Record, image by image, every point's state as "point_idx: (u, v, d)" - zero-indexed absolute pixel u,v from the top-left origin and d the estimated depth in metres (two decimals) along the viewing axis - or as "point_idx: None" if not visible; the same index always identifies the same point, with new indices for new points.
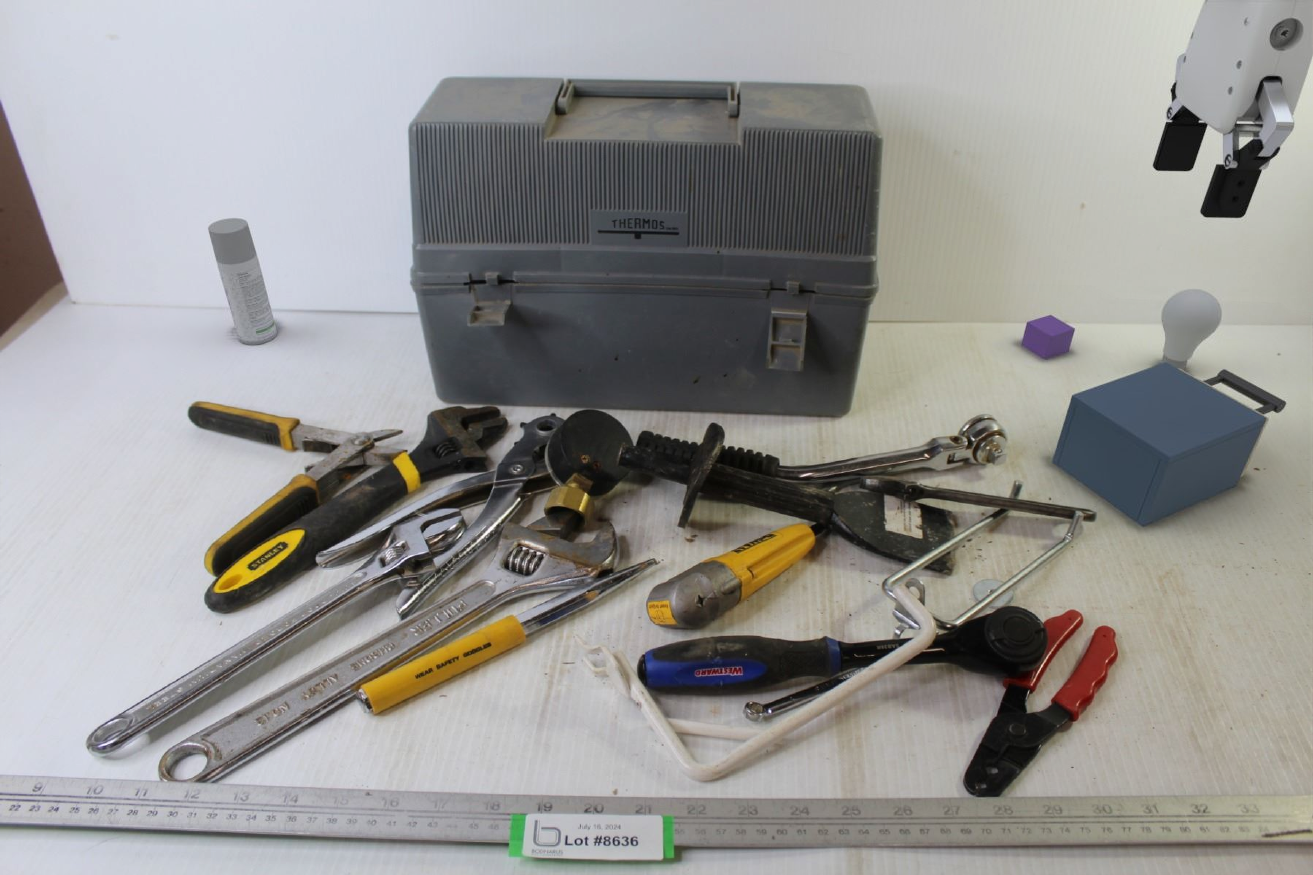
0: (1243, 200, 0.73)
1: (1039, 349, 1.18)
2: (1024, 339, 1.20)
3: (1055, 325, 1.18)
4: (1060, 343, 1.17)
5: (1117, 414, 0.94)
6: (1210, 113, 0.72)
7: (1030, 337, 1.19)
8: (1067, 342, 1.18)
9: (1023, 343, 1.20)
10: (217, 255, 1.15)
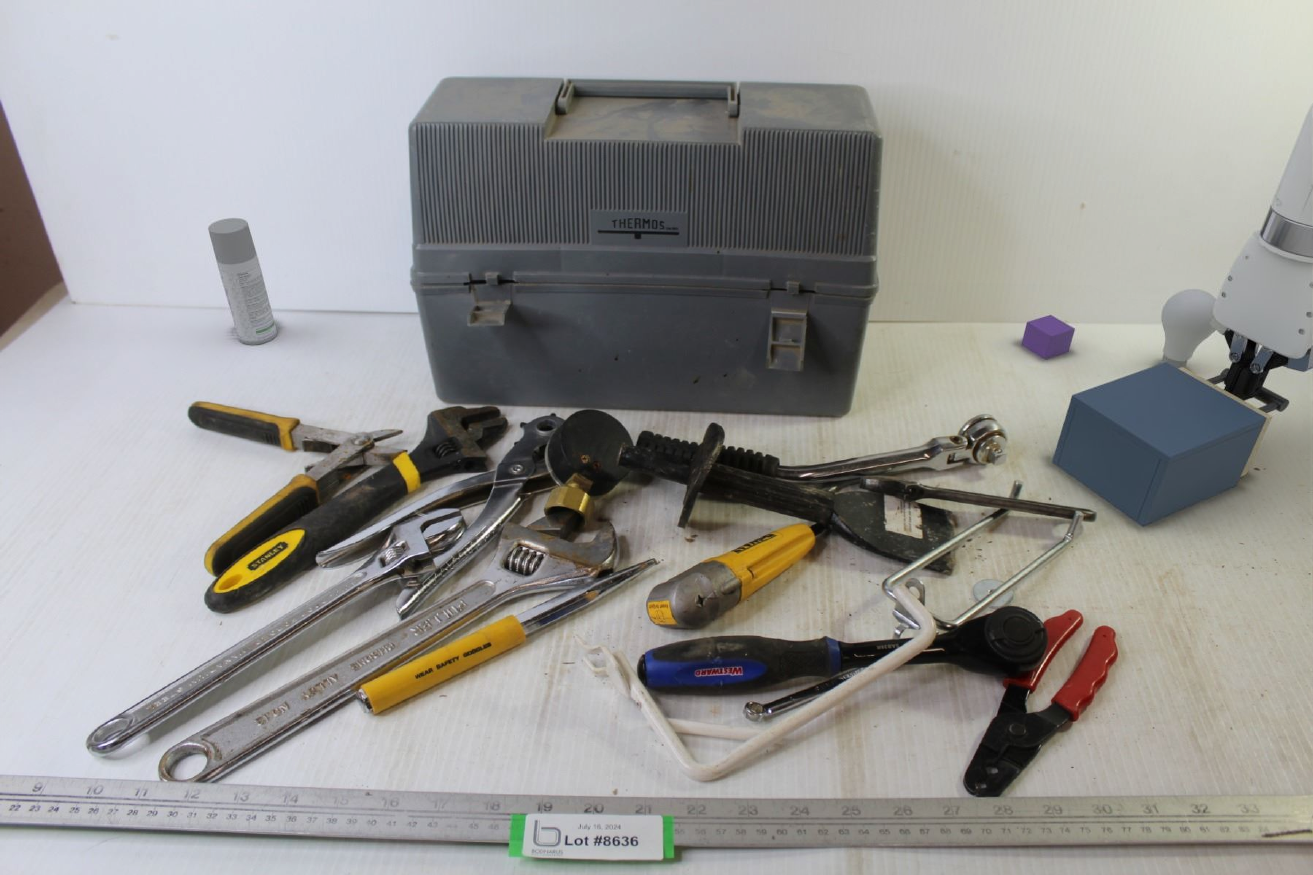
0: (1260, 388, 0.99)
1: (1039, 349, 1.18)
2: (1024, 339, 1.20)
3: (1055, 325, 1.18)
4: (1060, 343, 1.17)
5: (1117, 414, 0.94)
6: (1275, 342, 0.93)
7: (1030, 337, 1.19)
8: (1067, 342, 1.18)
9: (1023, 343, 1.20)
10: (217, 255, 1.15)
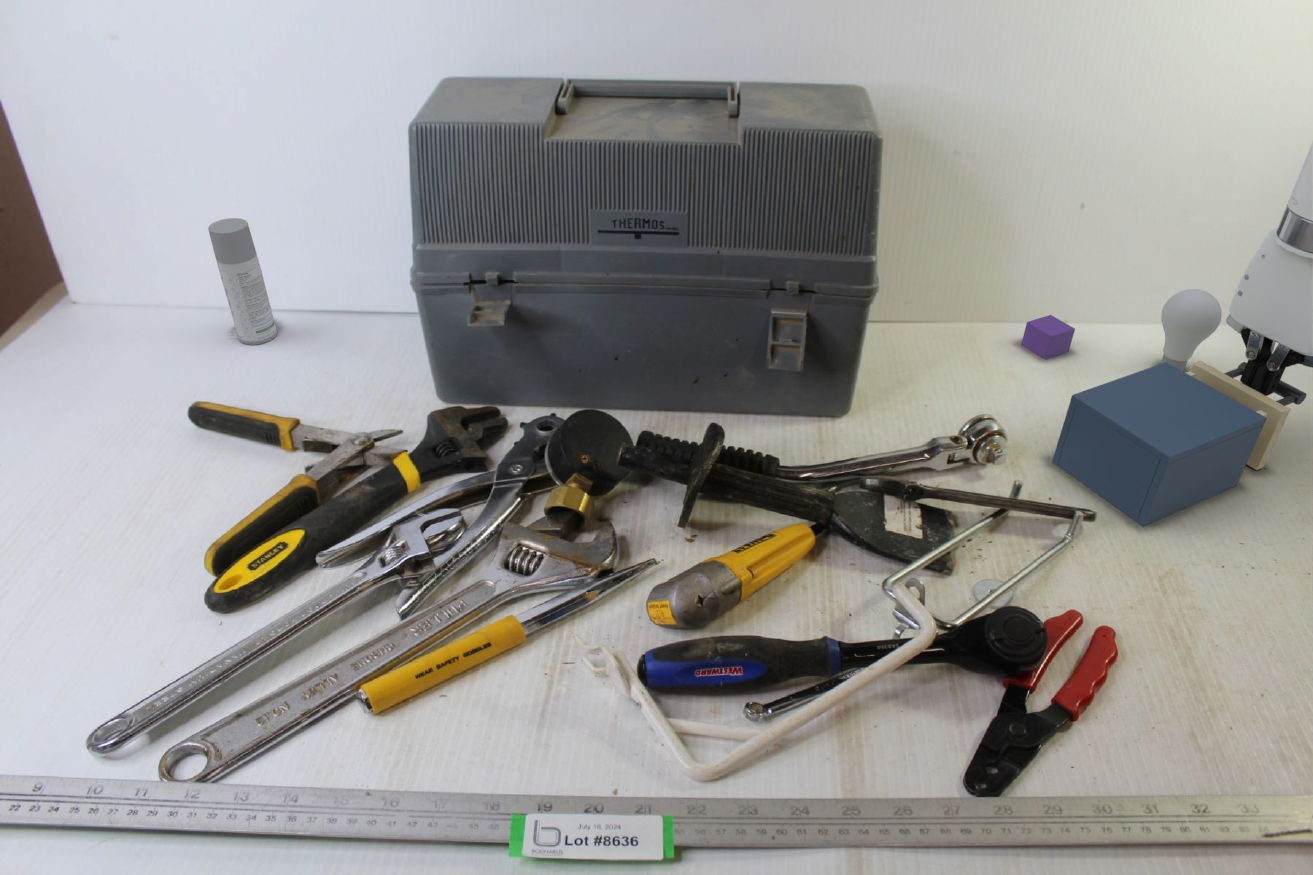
0: (1276, 386, 1.00)
1: (1039, 349, 1.18)
2: (1024, 339, 1.20)
3: (1055, 325, 1.18)
4: (1060, 343, 1.17)
5: (1117, 414, 0.94)
6: (1292, 340, 0.95)
7: (1030, 337, 1.19)
8: (1067, 342, 1.18)
9: (1023, 343, 1.20)
10: (217, 255, 1.15)
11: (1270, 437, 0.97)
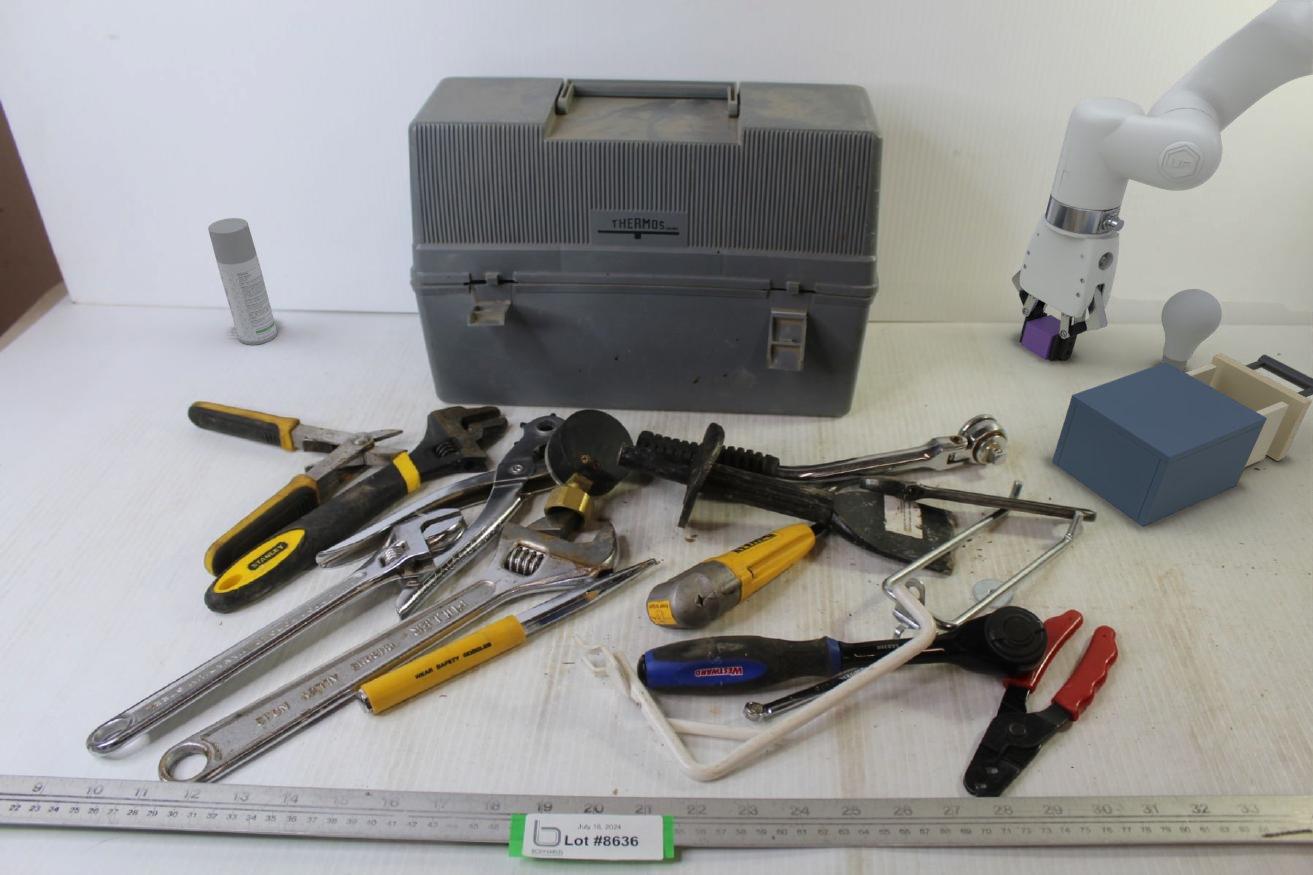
0: (1071, 352, 1.17)
1: (1039, 349, 1.18)
2: (1024, 339, 1.20)
3: (1055, 325, 1.18)
4: None
5: (1117, 414, 0.94)
6: (1061, 305, 1.13)
7: (1030, 337, 1.19)
8: None
9: (1023, 343, 1.20)
10: (217, 255, 1.15)
11: (1291, 428, 0.99)
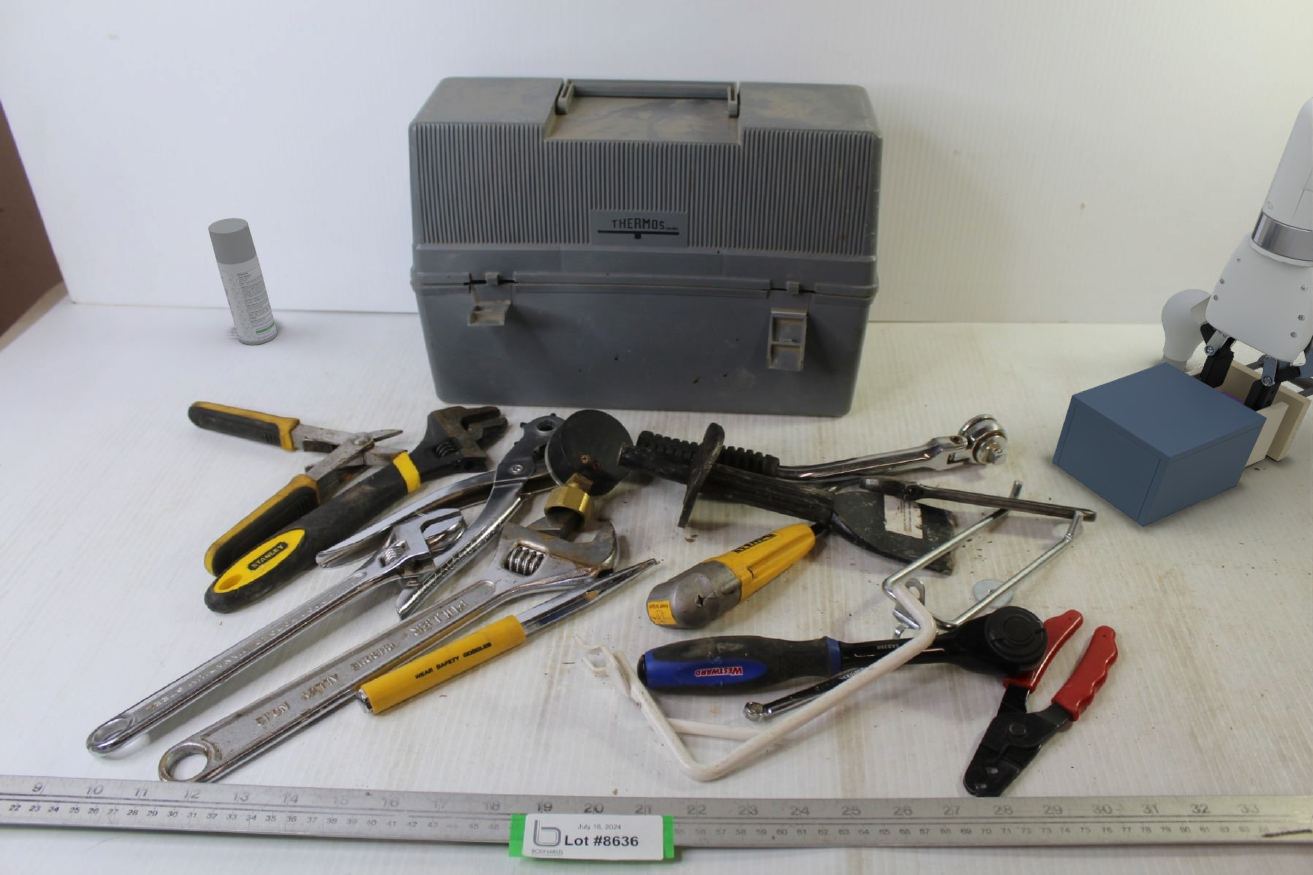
0: (1272, 401, 0.97)
1: None
2: None
3: None
4: None
5: (1117, 414, 0.94)
6: (1267, 346, 0.93)
7: None
8: None
9: None
10: (217, 255, 1.15)
11: (1291, 428, 0.99)
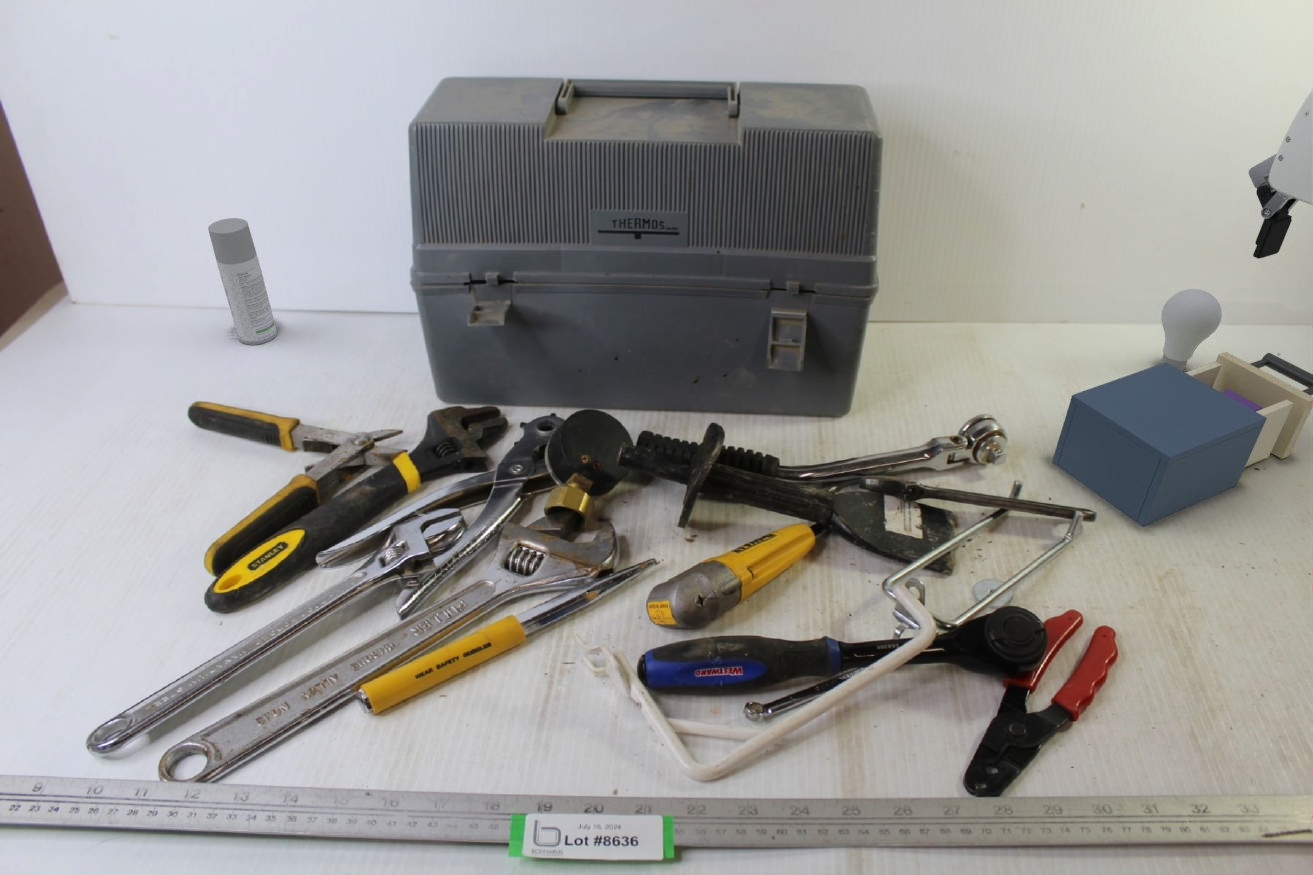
0: None
1: None
2: None
3: None
4: None
5: (1117, 414, 0.94)
6: None
7: None
8: None
9: None
10: (217, 255, 1.15)
11: (1296, 426, 0.99)
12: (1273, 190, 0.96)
